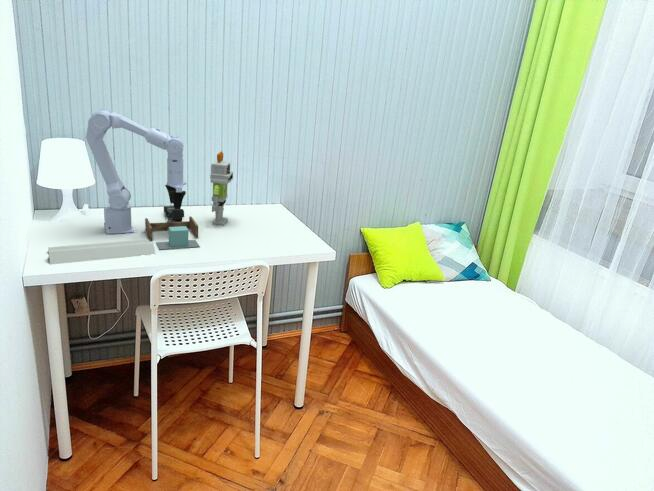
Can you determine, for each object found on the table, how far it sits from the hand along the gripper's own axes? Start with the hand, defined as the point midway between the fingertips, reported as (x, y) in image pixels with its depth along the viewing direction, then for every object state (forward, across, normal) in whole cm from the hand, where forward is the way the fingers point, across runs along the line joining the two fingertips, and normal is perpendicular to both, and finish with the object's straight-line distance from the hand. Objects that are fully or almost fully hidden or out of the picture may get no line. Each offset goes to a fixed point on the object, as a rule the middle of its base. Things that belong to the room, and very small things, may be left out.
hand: (175, 205), depth 182 cm
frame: (+10, -4, +2) cm, 11 cm away
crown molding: (+11, -17, +27) cm, 34 cm away
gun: (+11, +14, -2) cm, 18 cm away
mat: (+10, -15, +2) cm, 18 cm away
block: (+10, -15, +2) cm, 18 cm away
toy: (+11, +8, -20) cm, 24 cm away
